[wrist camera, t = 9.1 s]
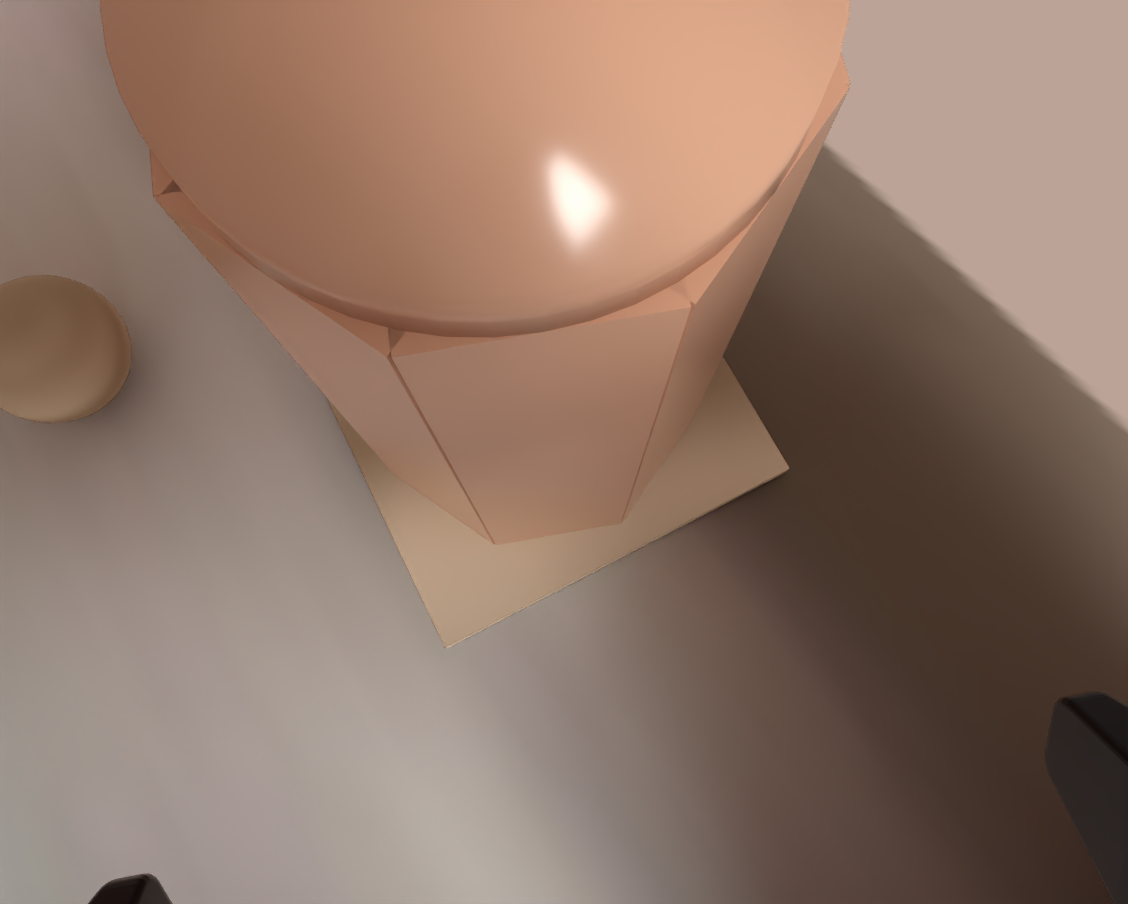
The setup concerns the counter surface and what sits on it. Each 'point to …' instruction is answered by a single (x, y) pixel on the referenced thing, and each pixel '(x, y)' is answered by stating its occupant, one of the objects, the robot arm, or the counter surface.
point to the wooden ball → (59, 349)
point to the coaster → (545, 565)
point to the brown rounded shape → (490, 214)
